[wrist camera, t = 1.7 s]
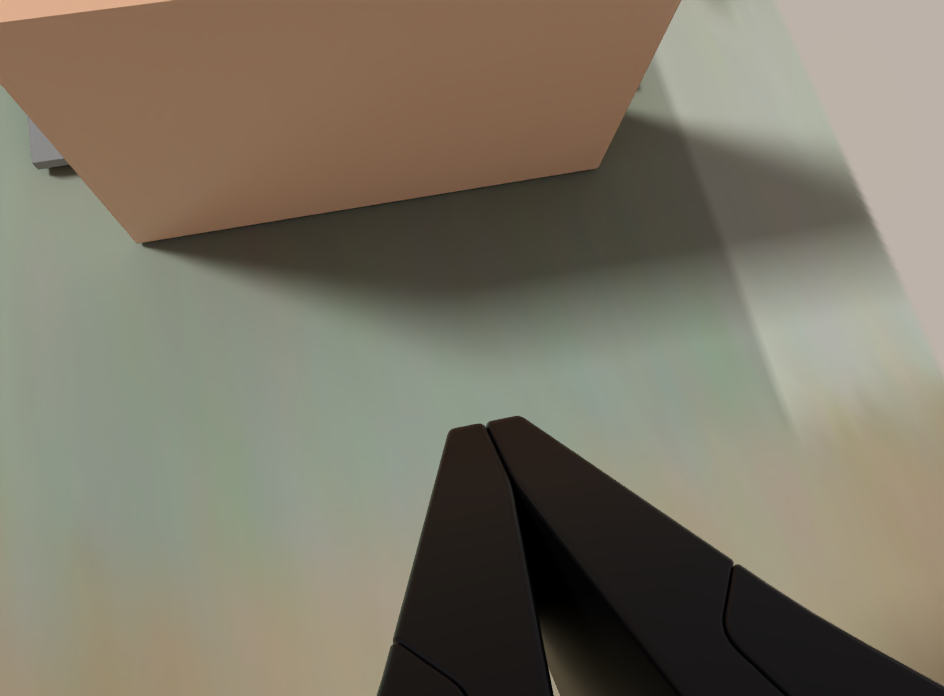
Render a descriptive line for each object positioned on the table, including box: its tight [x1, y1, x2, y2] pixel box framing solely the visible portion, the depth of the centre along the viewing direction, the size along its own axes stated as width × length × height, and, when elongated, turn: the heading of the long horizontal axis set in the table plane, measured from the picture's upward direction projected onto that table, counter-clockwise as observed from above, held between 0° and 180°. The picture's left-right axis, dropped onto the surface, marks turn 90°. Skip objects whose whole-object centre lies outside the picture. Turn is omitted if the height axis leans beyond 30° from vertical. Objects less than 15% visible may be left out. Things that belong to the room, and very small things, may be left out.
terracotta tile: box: [0, 0, 681, 243], centre depth 20 cm, size 2×14×10 cm, turn 102°
